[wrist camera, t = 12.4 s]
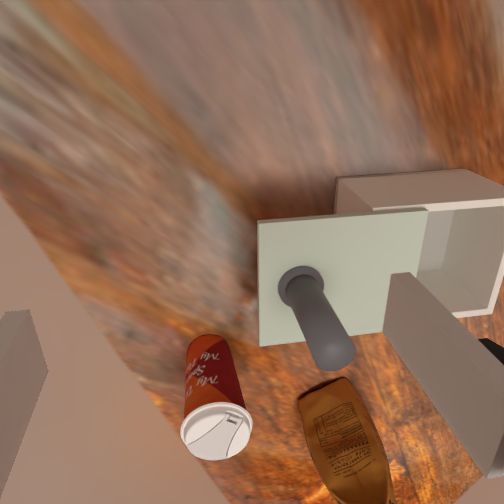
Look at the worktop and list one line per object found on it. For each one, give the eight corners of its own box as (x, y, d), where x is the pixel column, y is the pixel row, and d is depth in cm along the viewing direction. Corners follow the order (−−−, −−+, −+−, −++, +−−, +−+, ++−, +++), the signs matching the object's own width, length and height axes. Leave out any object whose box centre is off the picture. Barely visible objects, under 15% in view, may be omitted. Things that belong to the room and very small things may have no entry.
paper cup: (198, 319, 54) (206, 402, 41) (248, 341, 57) (268, 425, 44) (167, 361, 56) (166, 453, 44) (216, 381, 59) (227, 472, 47)
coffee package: (310, 444, 68) (364, 605, 49) (288, 393, 62) (340, 553, 43) (368, 422, 68) (445, 575, 49) (351, 369, 62) (432, 519, 43)
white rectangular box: (336, 176, 48) (372, 208, 39) (465, 168, 50) (527, 196, 41) (328, 282, 54) (357, 329, 46) (442, 270, 57) (492, 313, 48)
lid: (257, 220, 38) (285, 282, 28) (424, 207, 40) (502, 260, 30) (258, 341, 44) (281, 426, 34) (402, 324, 46) (462, 399, 36)
